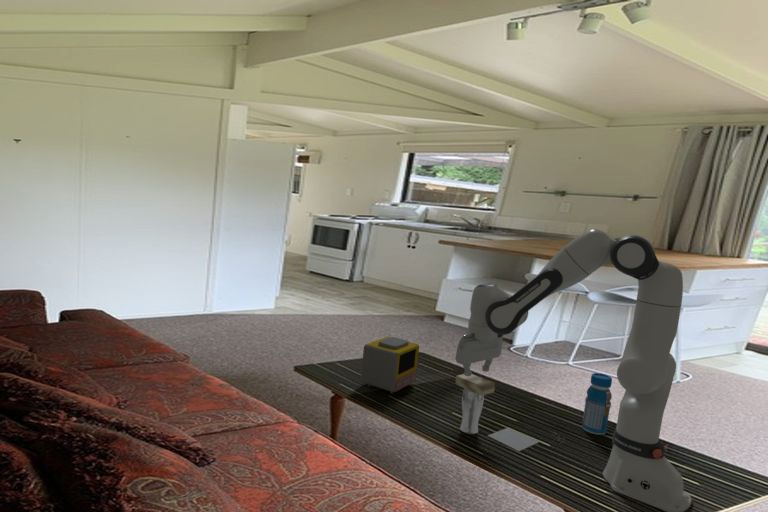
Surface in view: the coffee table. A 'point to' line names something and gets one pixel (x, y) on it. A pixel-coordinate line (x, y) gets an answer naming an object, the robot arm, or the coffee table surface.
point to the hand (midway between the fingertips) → (476, 373)
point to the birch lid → (475, 384)
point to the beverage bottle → (597, 404)
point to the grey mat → (513, 439)
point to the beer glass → (471, 411)
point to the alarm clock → (389, 363)
